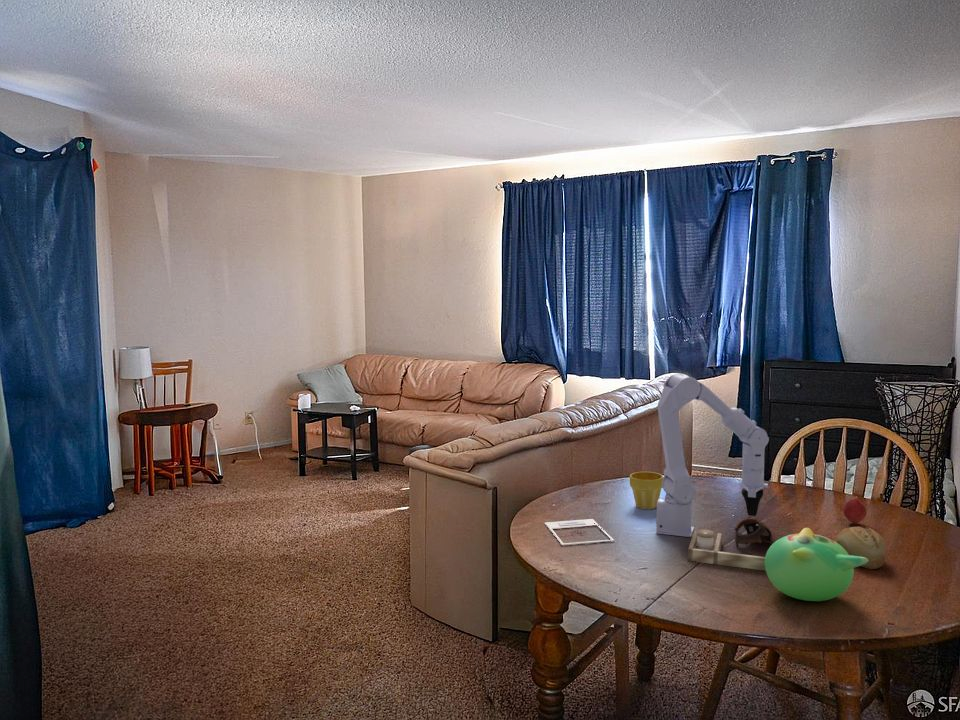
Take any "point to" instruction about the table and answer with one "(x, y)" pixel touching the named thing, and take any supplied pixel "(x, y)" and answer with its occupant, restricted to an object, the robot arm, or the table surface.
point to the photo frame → (574, 524)
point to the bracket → (723, 556)
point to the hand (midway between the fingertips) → (752, 515)
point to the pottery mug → (752, 532)
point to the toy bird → (810, 566)
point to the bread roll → (864, 545)
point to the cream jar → (705, 539)
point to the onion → (854, 510)
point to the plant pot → (646, 488)
